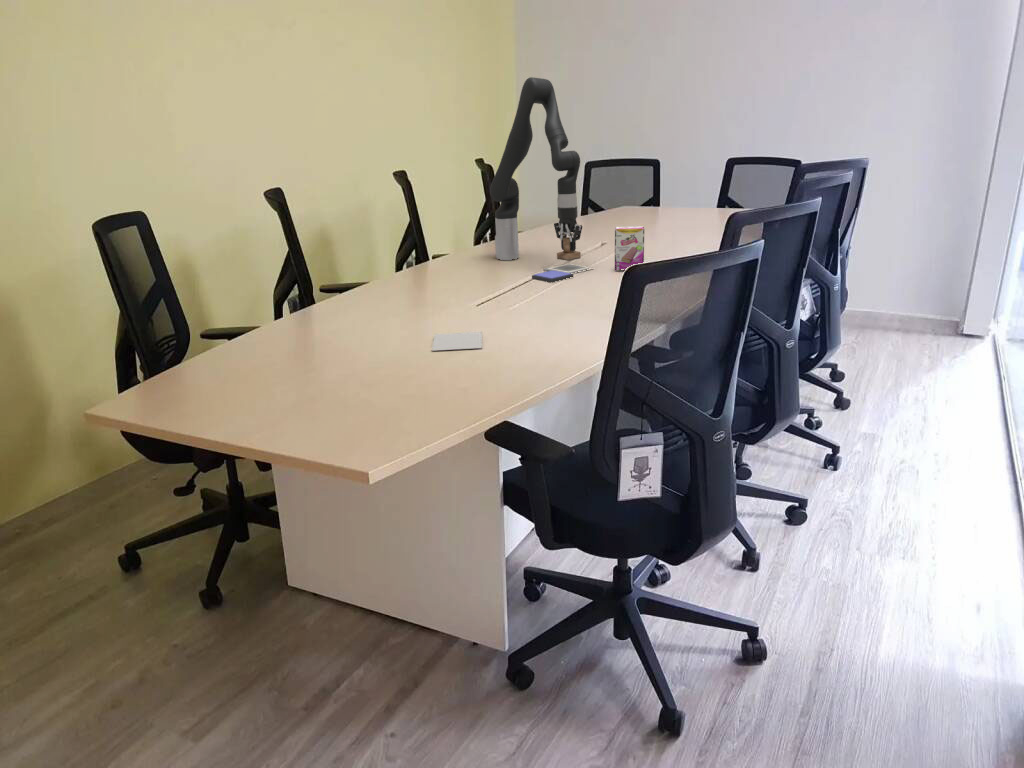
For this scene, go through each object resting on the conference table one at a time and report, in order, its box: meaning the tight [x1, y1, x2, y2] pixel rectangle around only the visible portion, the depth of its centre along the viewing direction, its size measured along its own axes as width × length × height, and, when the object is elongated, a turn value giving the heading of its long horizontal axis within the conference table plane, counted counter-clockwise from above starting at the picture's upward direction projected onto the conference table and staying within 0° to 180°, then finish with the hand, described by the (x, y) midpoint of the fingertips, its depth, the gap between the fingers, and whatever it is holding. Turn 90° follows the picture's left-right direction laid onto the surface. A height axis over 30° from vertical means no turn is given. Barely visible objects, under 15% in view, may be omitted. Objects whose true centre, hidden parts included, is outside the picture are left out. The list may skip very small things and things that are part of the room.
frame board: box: [542, 262, 591, 273], centre depth 325 cm, size 14×14×1 cm
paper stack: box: [431, 331, 483, 352], centre depth 235 cm, size 23×25×1 cm
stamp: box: [556, 236, 582, 262], centre depth 323 cm, size 6×6×8 cm
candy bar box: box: [614, 225, 645, 272], centre depth 317 cm, size 11×5×16 cm, turn 84°
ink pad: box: [531, 270, 574, 283], centre depth 312 cm, size 11×11×2 cm
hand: (568, 250), depth 323 cm, fingers closed on stamp, 4 cm apart
